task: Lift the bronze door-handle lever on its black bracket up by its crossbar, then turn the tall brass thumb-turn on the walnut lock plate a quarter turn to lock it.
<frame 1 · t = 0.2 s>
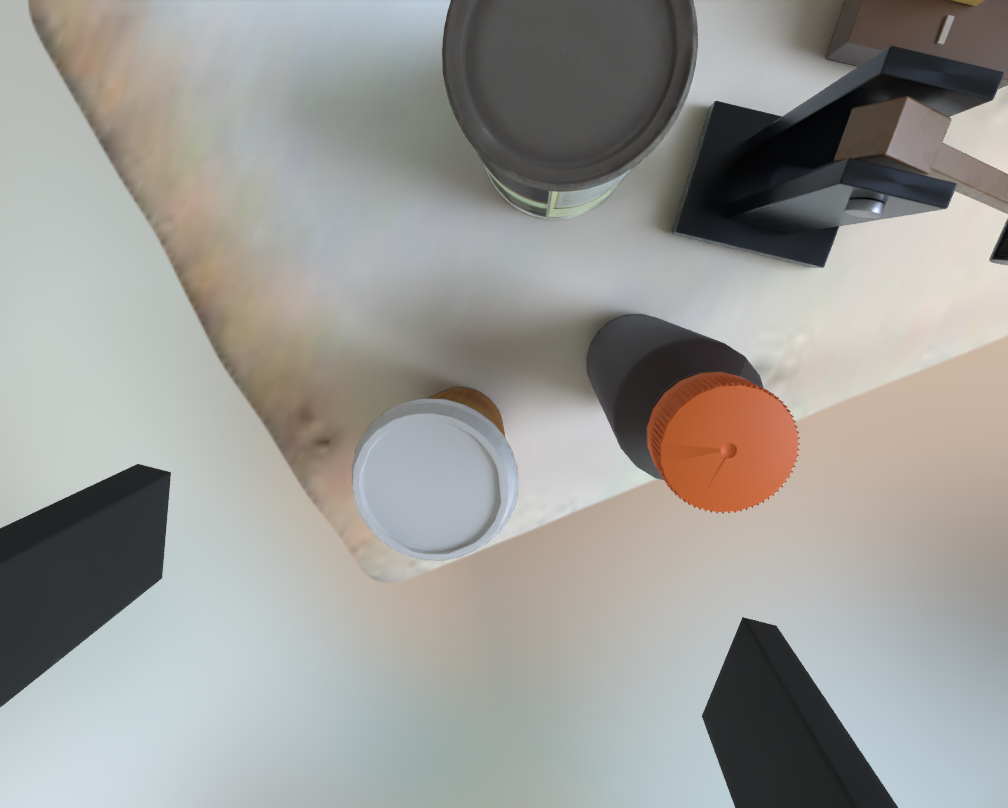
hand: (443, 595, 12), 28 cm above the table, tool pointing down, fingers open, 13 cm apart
bottle: (632, 360, 38), on the table
door handle: (962, 174, 24), point 11 cm above the table, hinge at -22.0°
disposable coffee cup: (462, 426, 40), on the table
coffee can: (557, 140, 35), on the table
bracket: (763, 189, 35), on the table
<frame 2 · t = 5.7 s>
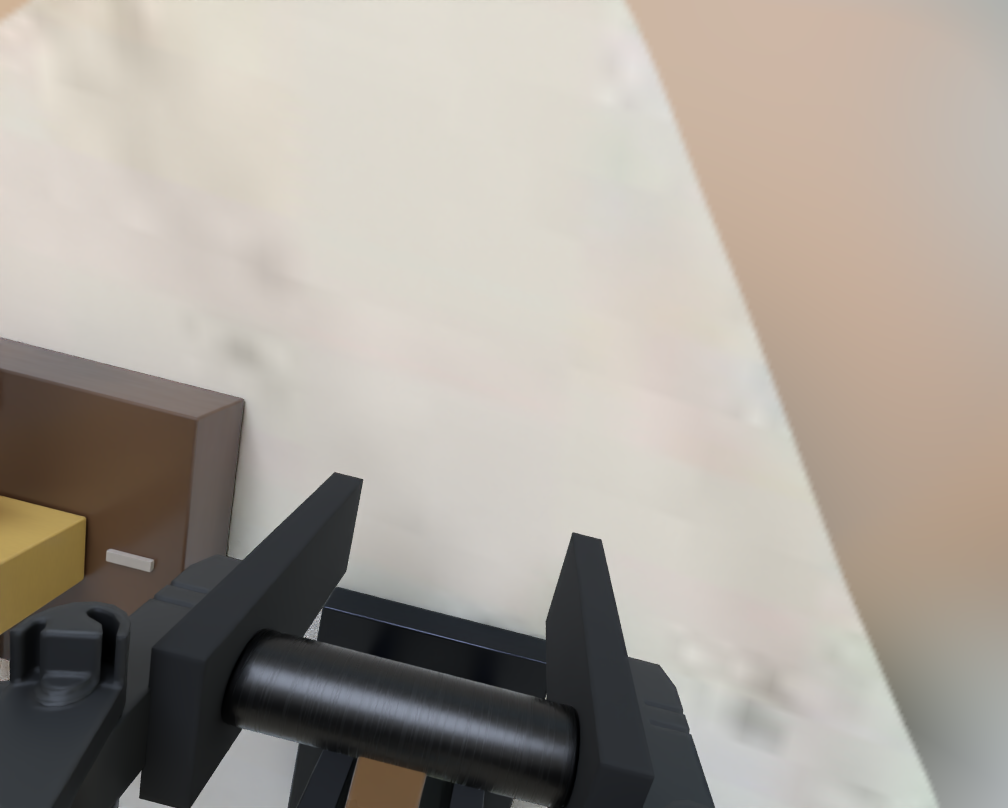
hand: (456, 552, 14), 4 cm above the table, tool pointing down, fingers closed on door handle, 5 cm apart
lock plate: (65, 490, 18), on the table
bracket: (418, 724, 20), on the table
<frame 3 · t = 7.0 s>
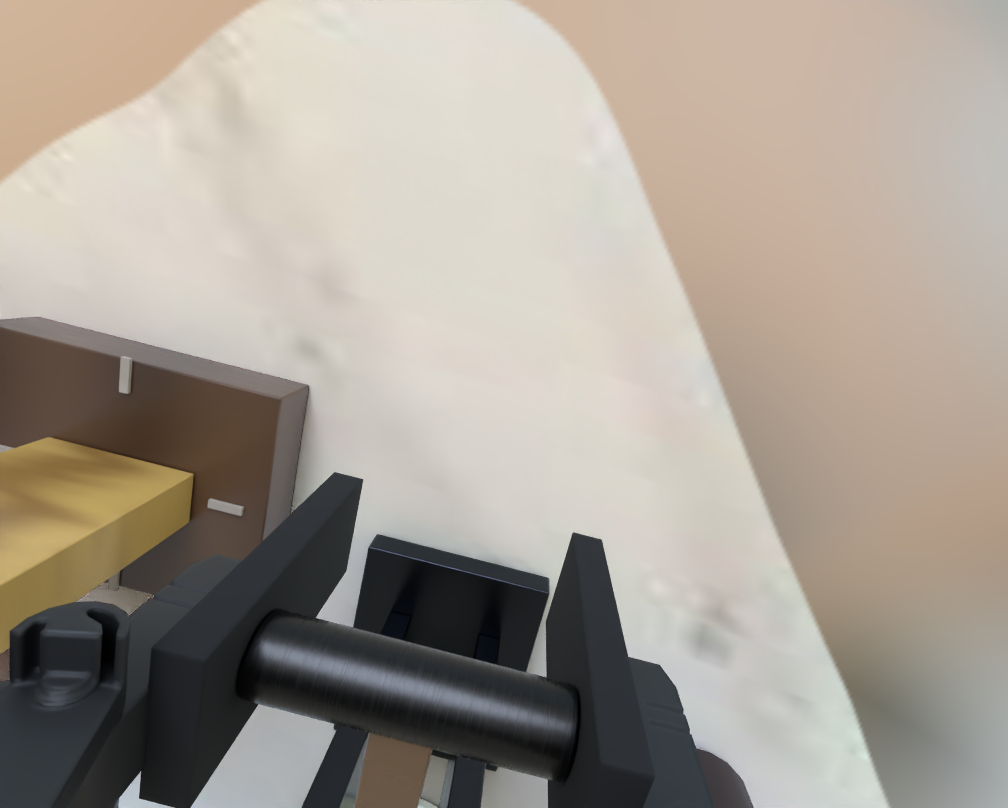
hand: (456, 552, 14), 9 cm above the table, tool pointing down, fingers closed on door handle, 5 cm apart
thumb turn: (13, 531, 17), point 7 cm above the table, hinge at 0.0°
bottle: (674, 792, 26), on the table
lock plate: (164, 458, 23), on the table
bracket: (440, 647, 25), on the table
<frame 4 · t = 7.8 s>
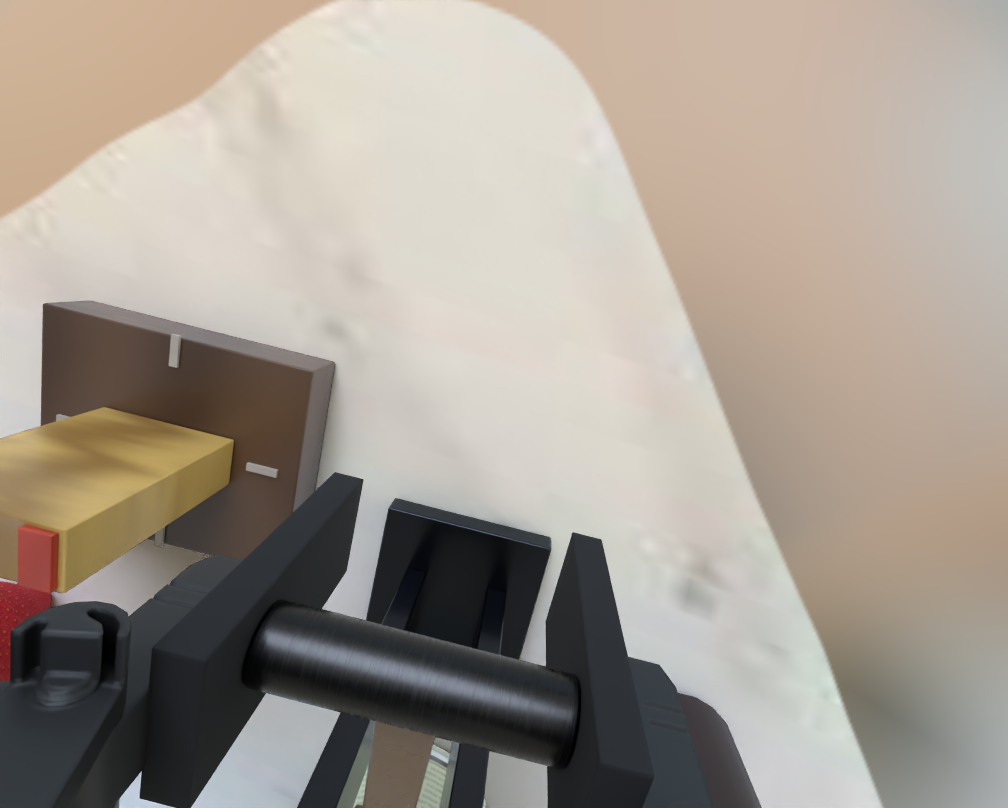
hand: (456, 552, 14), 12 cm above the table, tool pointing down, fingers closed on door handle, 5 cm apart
thumb turn: (85, 483, 19), point 7 cm above the table, hinge at 0.0°
bottle: (664, 737, 29), on the table
strawberry: (47, 593, 29), on the table
lock plate: (203, 429, 26), on the table
coffee can: (402, 801, 31), on the table
bracket: (452, 602, 27), on the table
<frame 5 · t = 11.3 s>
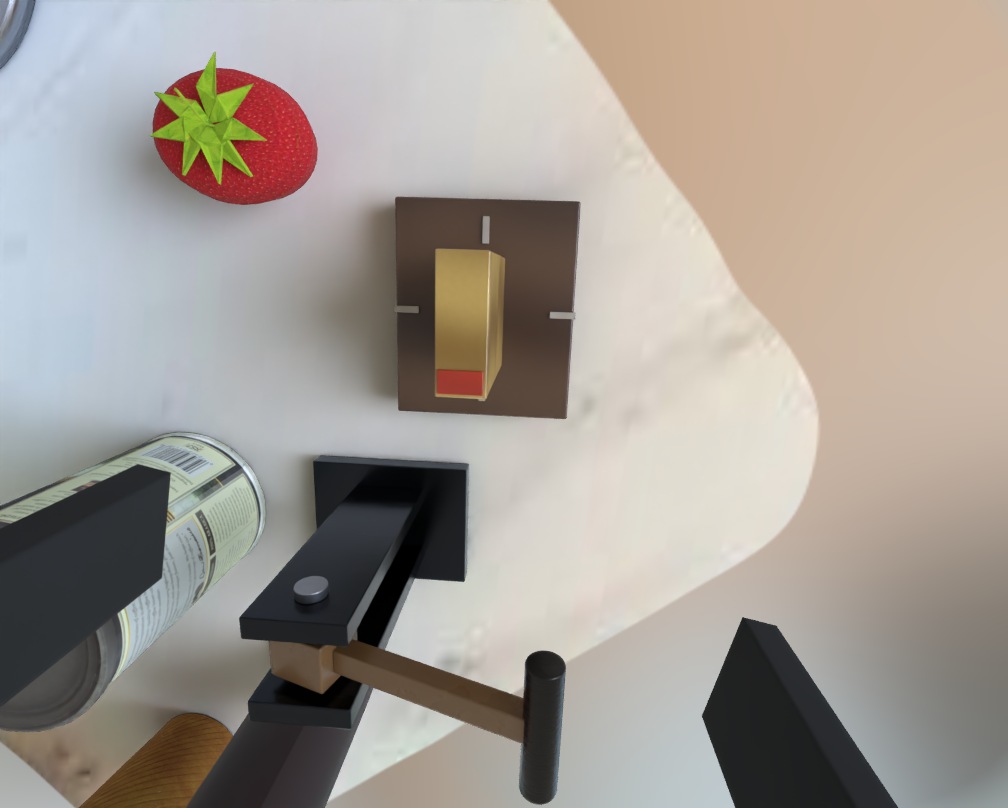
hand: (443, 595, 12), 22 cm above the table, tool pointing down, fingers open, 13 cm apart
thumb turn: (474, 318, 25), point 7 cm above the table, hinge at 0.0°
bottle: (332, 669, 39), on the table
door handle: (410, 680, 21), point 15 cm above the table, hinge at 18.3°
strawberry: (290, 163, 31), on the table
disposable coffee cup: (201, 743, 42), on the table
lock plate: (488, 309, 32), on the table
coffee can: (198, 501, 37), on the table
bracket: (394, 514, 36), on the table
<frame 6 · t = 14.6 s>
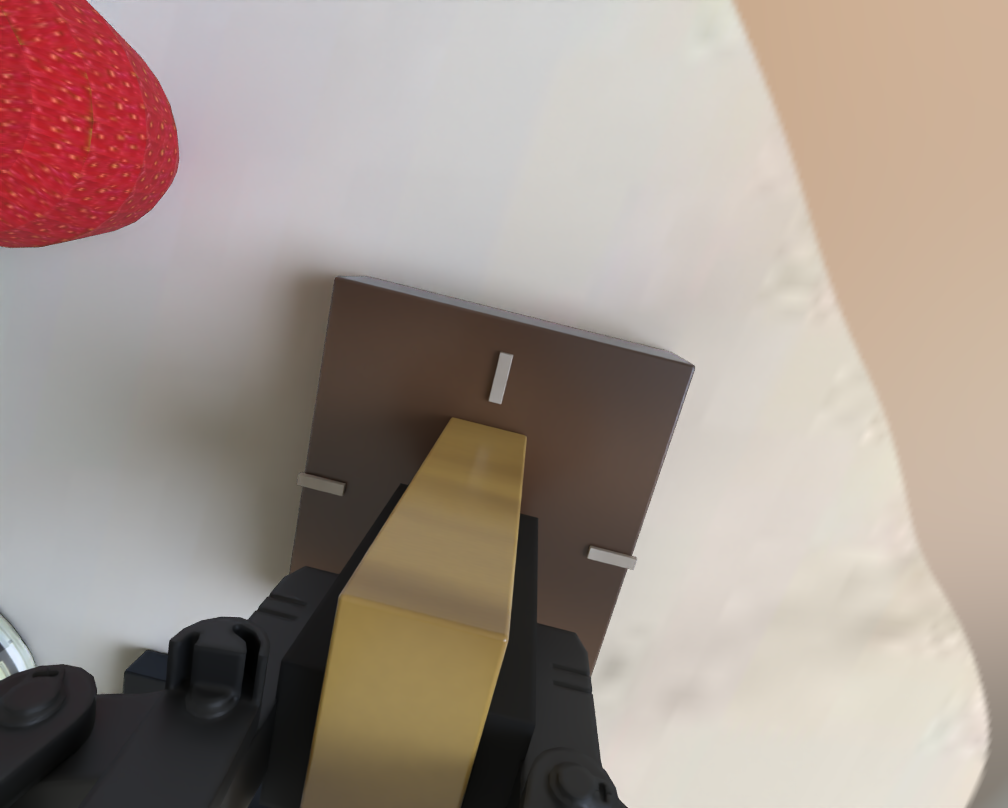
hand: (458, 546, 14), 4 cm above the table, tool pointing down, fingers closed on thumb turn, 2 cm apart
thumb turn: (437, 612, 11), point 7 cm above the table, hinge at 0.0°, touching gripper
strawberry: (158, 156, 16), on the table
lock plate: (476, 486, 18), on the table
bracket: (258, 759, 21), on the table
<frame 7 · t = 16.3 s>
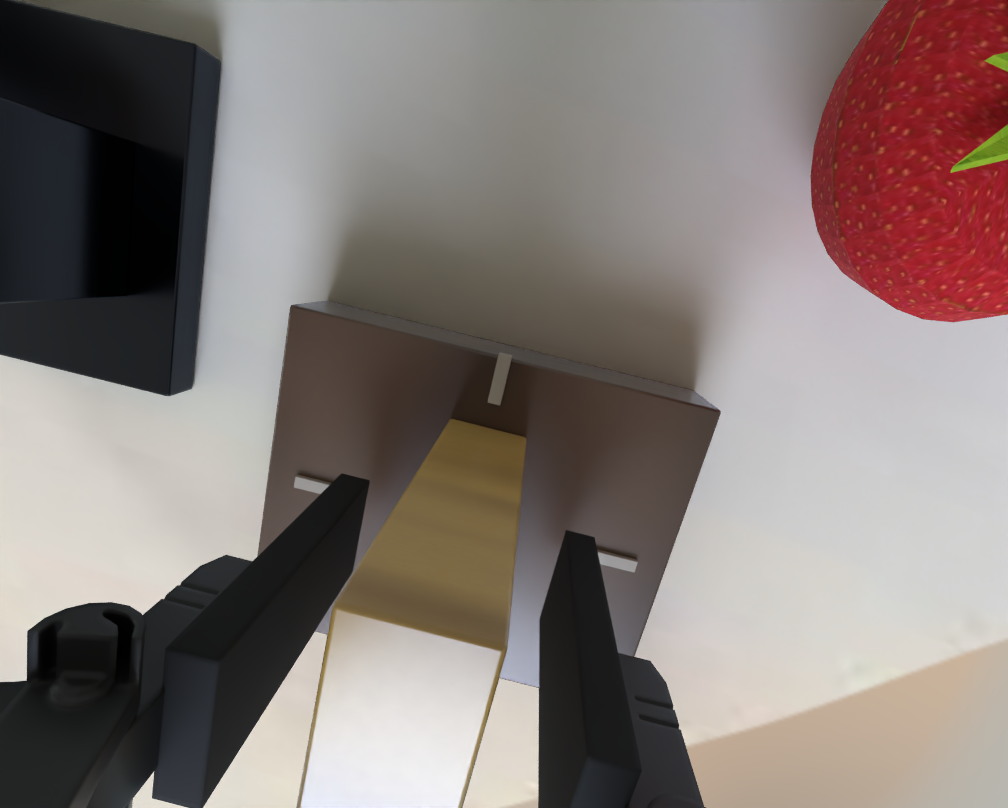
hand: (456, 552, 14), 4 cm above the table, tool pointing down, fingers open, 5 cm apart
thumb turn: (436, 617, 11), point 7 cm above the table, hinge at 89.8°
strawberry: (841, 172, 15), on the table
lock plate: (475, 488, 18), on the table
bracket: (83, 207, 16), on the table
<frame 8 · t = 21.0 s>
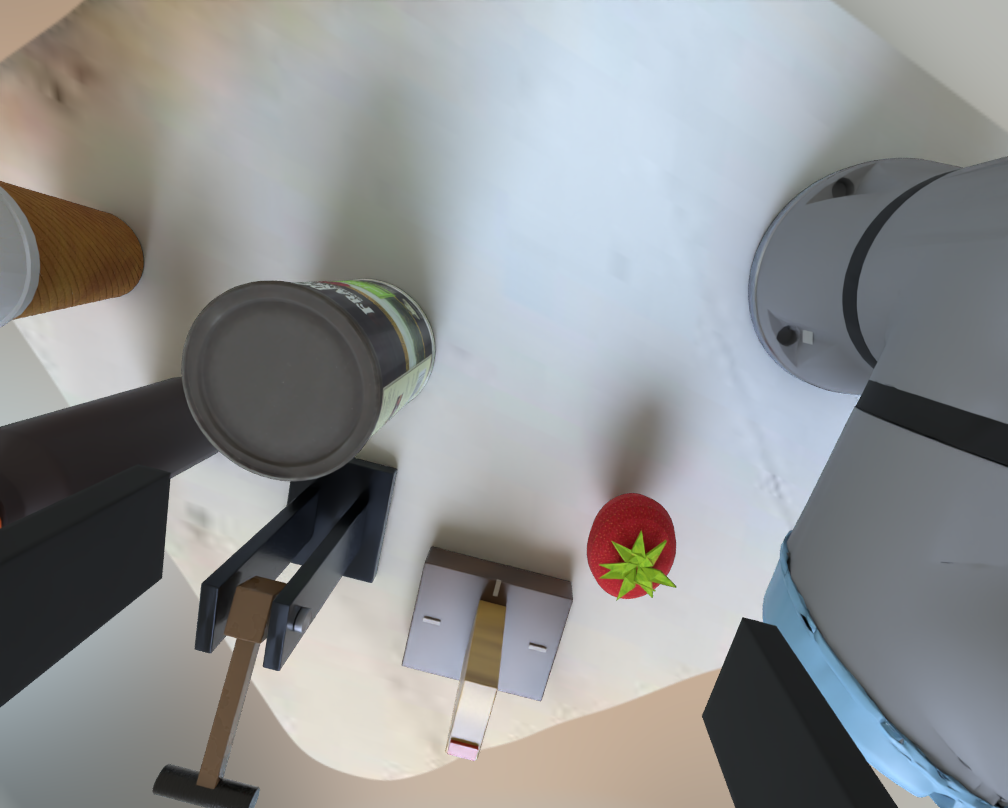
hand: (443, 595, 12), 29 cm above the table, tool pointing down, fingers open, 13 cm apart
thumb turn: (478, 674, 38), point 7 cm above the table, hinge at 89.8°
bottle: (195, 416, 43), on the table
door handle: (234, 692, 31), point 15 cm above the table, hinge at 18.3°
strawberry: (619, 511, 42), on the table
disposable coffee cup: (106, 255, 40), on the table
lock plate: (487, 614, 45), on the table
coffee can: (369, 347, 40), on the table
bracket: (339, 511, 43), on the table
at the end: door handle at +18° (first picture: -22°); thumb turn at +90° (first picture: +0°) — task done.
